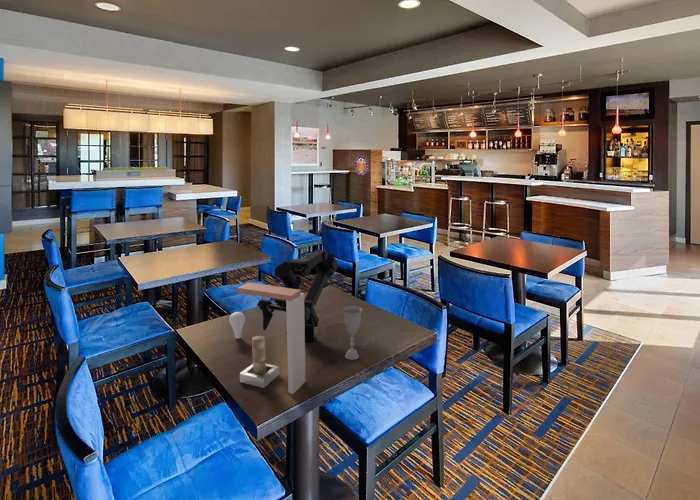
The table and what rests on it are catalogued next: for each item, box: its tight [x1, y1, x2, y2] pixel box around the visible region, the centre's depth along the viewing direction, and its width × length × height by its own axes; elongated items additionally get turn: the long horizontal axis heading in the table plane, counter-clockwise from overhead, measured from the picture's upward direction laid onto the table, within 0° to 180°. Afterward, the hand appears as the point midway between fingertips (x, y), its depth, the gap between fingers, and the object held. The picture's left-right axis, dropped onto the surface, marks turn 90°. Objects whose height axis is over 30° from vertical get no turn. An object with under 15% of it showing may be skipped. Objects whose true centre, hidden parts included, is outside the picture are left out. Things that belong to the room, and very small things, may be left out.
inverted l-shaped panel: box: [237, 282, 306, 395], centre depth 135 cm, size 8×19×32 cm, turn 67°
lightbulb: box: [228, 311, 246, 340], centre depth 169 cm, size 6×6×11 cm
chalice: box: [342, 305, 363, 360], centre depth 154 cm, size 7×7×18 cm
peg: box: [251, 335, 267, 376], centre depth 139 cm, size 4×4×14 cm
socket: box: [239, 363, 280, 389], centre depth 140 cm, size 9×9×3 cm
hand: (275, 331), depth 147 cm, fingers open, 9 cm apart
